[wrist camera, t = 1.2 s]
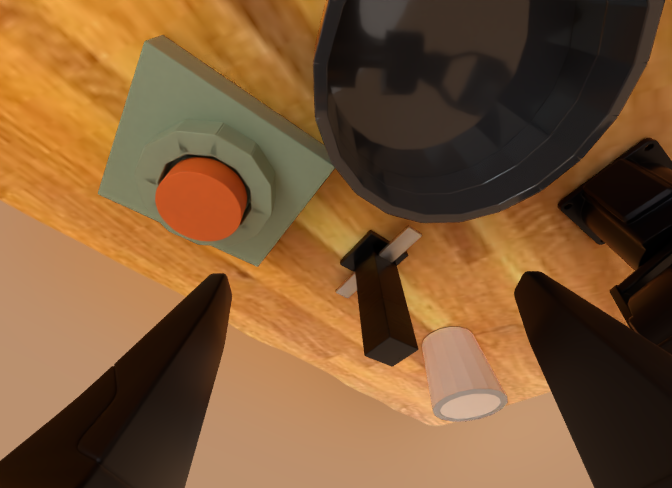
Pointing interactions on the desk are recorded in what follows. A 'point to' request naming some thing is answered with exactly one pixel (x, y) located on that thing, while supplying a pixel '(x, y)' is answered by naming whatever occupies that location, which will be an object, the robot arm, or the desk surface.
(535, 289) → the robot arm
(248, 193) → the control block
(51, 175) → the desk surface
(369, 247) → the dark blocky piece
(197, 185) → the button
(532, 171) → the bowl
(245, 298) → the desk surface
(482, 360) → the shot glass
